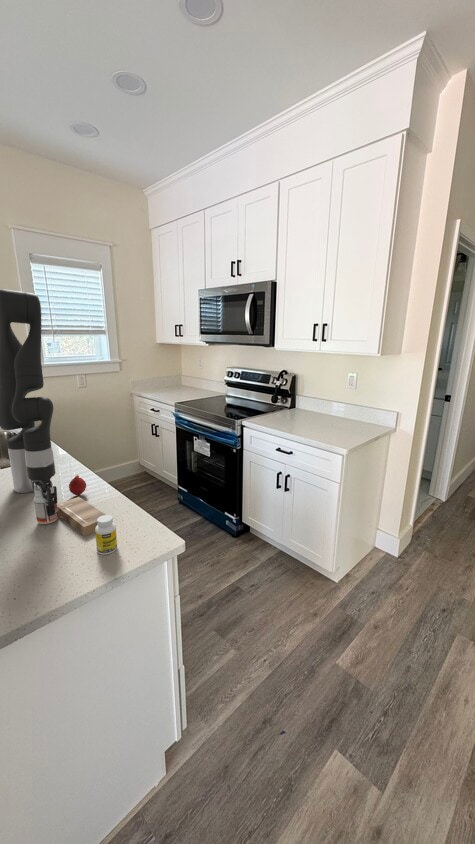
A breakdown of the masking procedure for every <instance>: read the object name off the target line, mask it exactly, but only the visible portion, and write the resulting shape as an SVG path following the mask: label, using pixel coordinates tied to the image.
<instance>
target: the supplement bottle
mask: <svg viewBox="0 0 475 844" xmlns="http://www.w3.org/2000/svg"><path fill="white" fill-rule="evenodd" d="M113 521H114V520H113V516H112V515H110V514H105V515H103V516H100V517H99V518H98V519H97V524H98V525H97V526H96V528H95V532H94V533H95V543H96V551H97V553H98V554H100V555H103V556H104V555H110V554H112V553H114V552H115V551H116V550H117V548H118V538H117V525H116V524H115V523H114V522H113Z"/></svg>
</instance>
